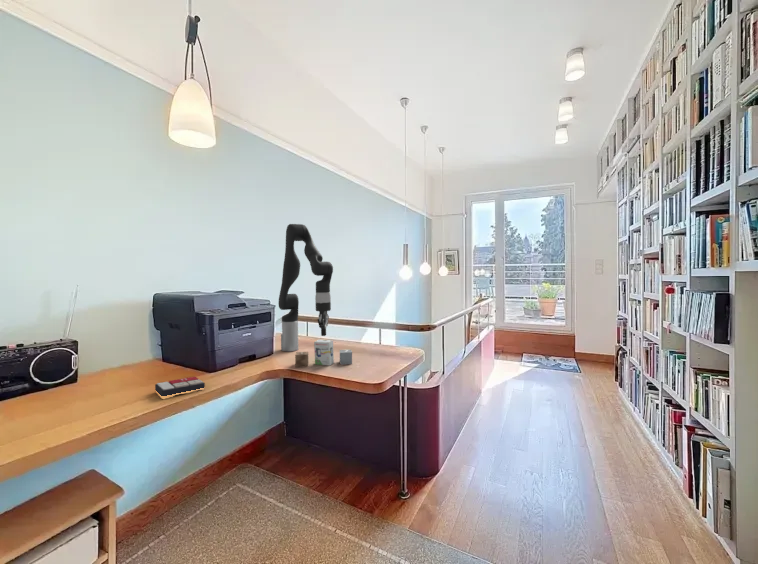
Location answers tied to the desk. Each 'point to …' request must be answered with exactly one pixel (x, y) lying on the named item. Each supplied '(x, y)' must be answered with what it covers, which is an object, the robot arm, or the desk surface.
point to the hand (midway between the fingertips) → (323, 335)
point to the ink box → (324, 352)
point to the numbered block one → (301, 359)
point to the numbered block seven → (345, 357)
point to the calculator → (179, 386)
